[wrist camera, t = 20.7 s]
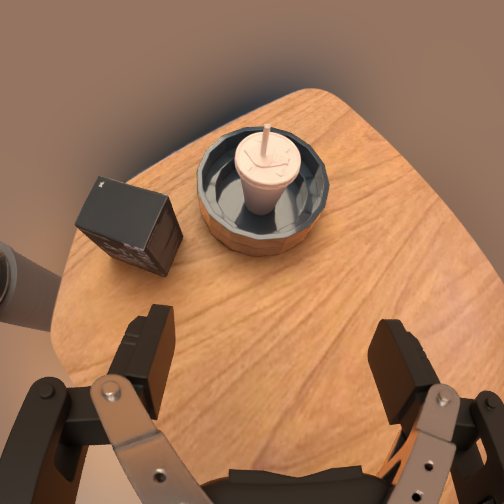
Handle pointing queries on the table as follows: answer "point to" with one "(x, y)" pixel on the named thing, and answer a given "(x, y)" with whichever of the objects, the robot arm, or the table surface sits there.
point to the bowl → (233, 204)
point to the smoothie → (266, 168)
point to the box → (131, 224)
